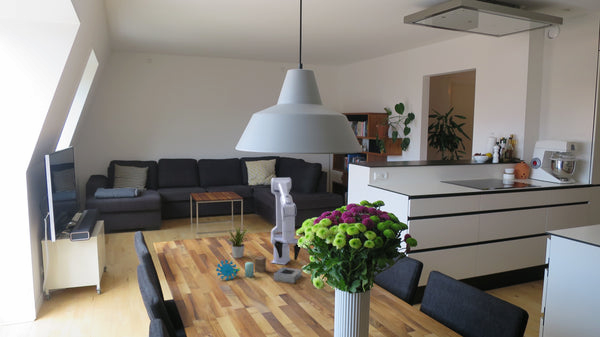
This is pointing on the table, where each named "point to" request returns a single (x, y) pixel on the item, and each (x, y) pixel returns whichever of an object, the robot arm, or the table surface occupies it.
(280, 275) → the socket block
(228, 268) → the blue virus model
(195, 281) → the table surface
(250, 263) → the round dowel
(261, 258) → the square bit
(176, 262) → the table surface
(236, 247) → the house plant
